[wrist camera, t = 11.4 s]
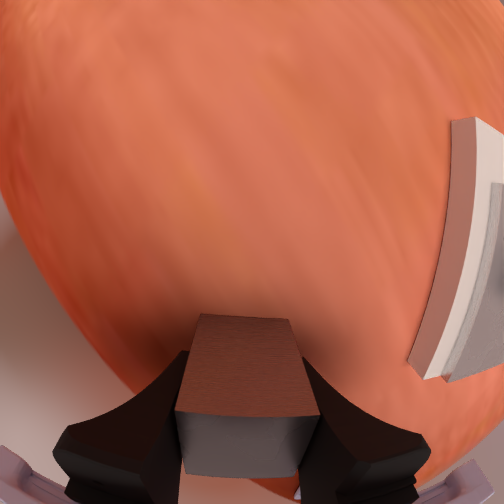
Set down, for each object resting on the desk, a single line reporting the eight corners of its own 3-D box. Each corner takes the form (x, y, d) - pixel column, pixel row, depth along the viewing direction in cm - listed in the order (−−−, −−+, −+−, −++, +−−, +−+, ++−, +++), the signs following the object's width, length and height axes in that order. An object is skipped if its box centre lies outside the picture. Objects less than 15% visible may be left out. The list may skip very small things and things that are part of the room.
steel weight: (276, 383, 13) (293, 476, 7) (200, 379, 13) (185, 473, 7) (288, 319, 12) (320, 415, 6) (200, 313, 12) (174, 410, 6)
